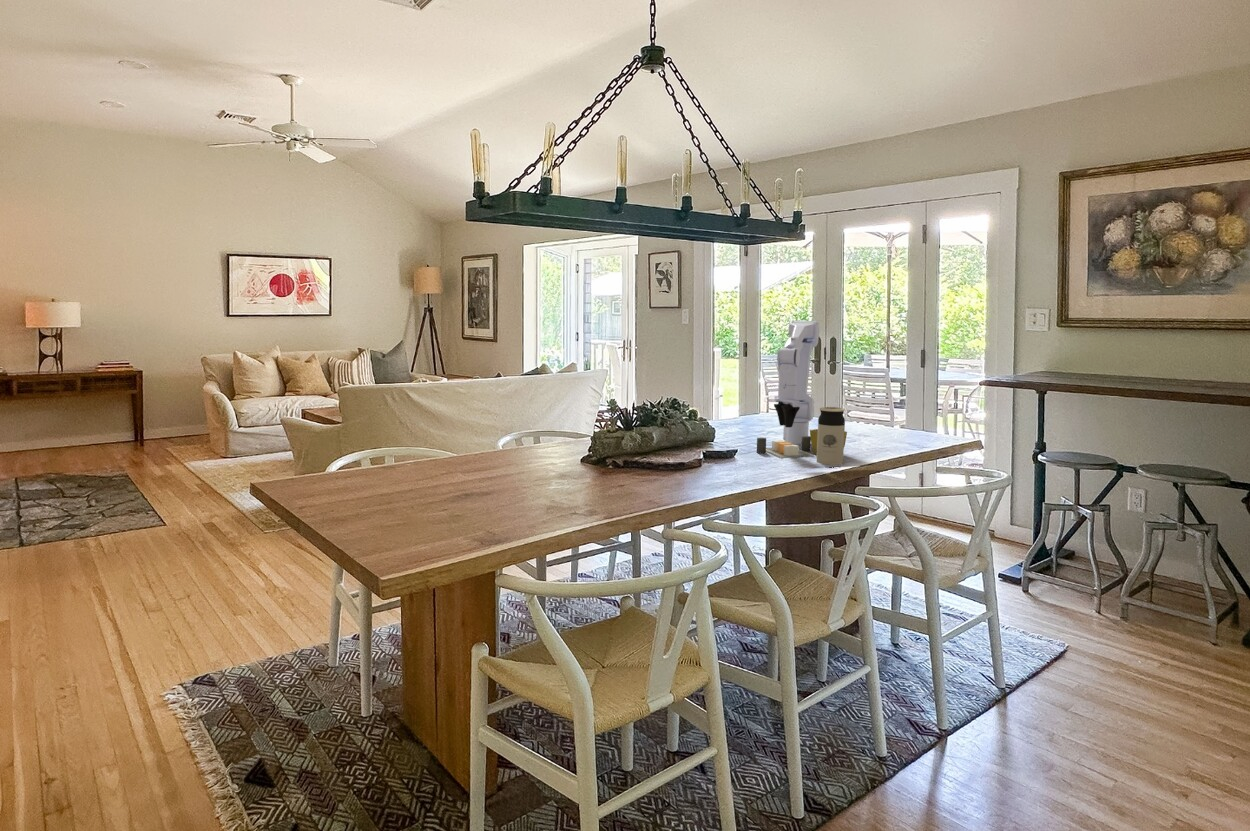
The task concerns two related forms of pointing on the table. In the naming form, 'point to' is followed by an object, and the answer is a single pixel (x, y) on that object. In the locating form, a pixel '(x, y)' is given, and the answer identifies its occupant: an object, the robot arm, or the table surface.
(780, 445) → the block
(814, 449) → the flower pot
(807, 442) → the cylinder
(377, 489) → the table surface
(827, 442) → the travel mug
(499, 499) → the table surface
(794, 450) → the block
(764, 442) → the cord post
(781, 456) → the panel
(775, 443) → the block
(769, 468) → the table surface
